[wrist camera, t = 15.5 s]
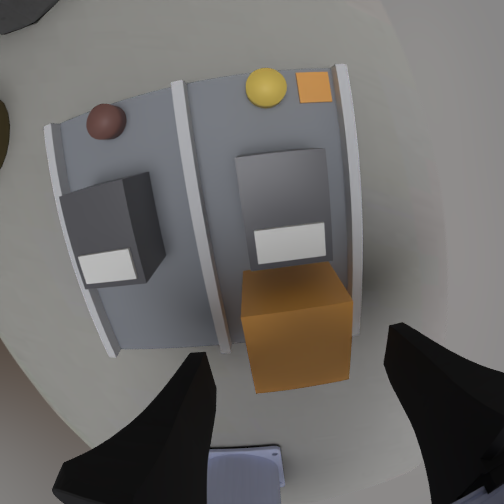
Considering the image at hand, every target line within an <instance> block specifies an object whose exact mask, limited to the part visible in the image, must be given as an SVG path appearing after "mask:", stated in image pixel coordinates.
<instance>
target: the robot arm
mask: <svg viewBox="0 0 504 504" xmlns="http://www.w3.org/2000/svg"><path fill="white" fill-rule="evenodd" d="M384 366H385V369H386V372H387V375H388V378H389V380H390V383H391V385H392V387H393V389H394V391H395V393H396V395H397V397H398V399H399V401H400V403H401V405H402V406H403V408H404V410H405V412H406V414H407V416H408V418H409V420H410V422H411V424H412V427H413V429H414V431H415V434H416V437H417V440H418V443H419V446H420V449H421V453H422V456H423V460H424V464H425V468H426V472H427V476H428V481H429V487H430V494H431V501H432V504H504V373H503V372H500V371H496V370H493V369H490V368H487V367H484V366H481V365H479V364H477V363H474V362H472V361H469V360H467V359H465V358H463V357H461V356H459V355H457V354H455V353H453V352H451V351H450V350H448V349H446V348H444V347H443V346H441V345H439V344H438V343H436V342H434V341H433V340H431V339H429V338H428V337H426V336H425V335H423V334H421V333H420V332H418V331H417V330H415V329H413V328H412V327H410V326H408V325H406V324H405V323H403V322H402V323H398V324H394V325H389V332H388V339H387V346H386V352H385V358H384ZM215 413H216V385H215V382H214V379H213V375H212V372H211V369H210V365H209V362H208V359H207V355H206V352H197V353H190V354H189V355H188V356H187V358H186V359H185V361H184V362H183V363H182V365H181V366H180V367H179V369H178V370H177V372H176V373H175V374H174V376H173V377H172V378H171V379H170V381H169V382H168V383H167V385H166V386H165V387H164V388H163V390H162V391H161V392H160V393H159V394H158V395H157V397H156V398H155V399H154V400H153V401H152V402H151V403H150V404H149V406H148V407H147V408H146V409H145V410H144V411H143V412H142V413H141V414H140V415H139V416H137V417H136V418H135V419H134V420H133V421H132V422H131V423H130V424H128V425H127V426H126V427H124V428H123V429H122V430H120V431H119V432H118V433H116V434H115V435H114V436H113V437H111V438H110V439H108V440H107V441H105V442H103V443H102V444H100V445H99V446H97V447H95V448H93V449H92V450H90V451H88V452H86V453H84V454H82V455H80V456H77V457H75V458H73V459H71V460H69V461H66V462H64V463H63V465H62V467H61V469H60V472H59V474H58V476H57V479H56V481H55V484H54V486H53V489H52V492H53V494H54V495H55V496H56V497H57V498H58V499H59V500H60V501H62V502H63V503H64V504H281V496H280V487H284V486H285V480H284V472H283V465H282V458H281V451H280V447H278V446H267V447H254V448H237V449H210V444H211V438H212V432H213V426H214V419H215Z"/></svg>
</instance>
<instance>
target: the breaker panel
mask: <svg viewBox="0 0 504 504" xmlns="http://www.w3.org/2000/svg"><path fill="white" fill-rule="evenodd" d="M44 135H45V143H46V151H47V158H48V164H49V170H50V176H51V182H52V187H53V192H54V197H55V201H56V206H57V210H58V215H59V219H60V223H61V227H62V230H63V234H64V238H65V241H66V245H67V248H68V252H69V255H70V258H71V261H72V265H73V268H74V271H75V274H76V277H77V280H78V283H79V285H80V288H81V291H82V294H83V296H84V299H85V302H86V304H87V307H88V310H89V312H90V315H91V317H92V319H93V322H94V324H95V327H96V329H97V331H98V334H99V336H100V338H101V340H102V343H103V345H104V347H105V349H106V351H107V353H108V355H109V357H117V355H118V353H119V352H120V350H121V349H154V348H178V347H196V346H210V345H219V346H220V350H221V354H225V353H231V347H232V344H234V343H244V342H246V341H245V336H244V331H243V326H242V321H241V303H242V282H243V271H246V270H251V268H250V262H249V255H248V248H247V241H246V234H245V227H244V220H243V214H242V207H241V200H240V193H239V186H238V179H237V172H236V165H235V157H237V156H238V155H246V154H253V153H261V152H270V151H279V150H289V149H299V148H325V150H326V160H327V170H328V181H329V194H330V208H331V224H332V245H333V261H329V263H330V264H331V266H332V268H333V269H334V271H335V272H336V274H337V275H338V277H339V279H340V280H341V282H342V283H343V285H344V287H345V288H346V290H347V291H348V293H349V295H350V296H351V298H352V300H353V323H352V336H356V335H359V333H360V319H361V302H362V274H363V222H362V195H361V177H360V164H359V152H358V141H357V132H356V123H355V115H354V108H353V101H352V94H351V87H350V81H349V75H348V69H347V64H335V65H334V66H333V67H331V68H324V69H293V70H278V71H276V70H274V69H270V68H261V69H258V70H256V71H254V72H253V73H248V74H240V75H233V76H226V77H219V78H213V79H208V80H202V81H197V82H192V83H187V84H186V83H185V82H184V81H183V80H179V81H175V82H171V87H169V88H165V89H161V90H157V91H153V92H150V93H146V94H142V95H139V96H135V97H132V98H129V99H125V100H122V101H119V102H116V103H113V104H110V105H109V104H100V105H97V106H96V107H94V108H93V109H92V110H91V111H90V112H87V113H85V114H82V115H80V116H77V117H75V118H72V119H70V120H67V121H65V122H63V123H60V124H55V123H51V124H48V125H46V126H44ZM144 172H149V174H150V179H151V185H152V190H153V196H154V201H155V206H156V211H157V215H158V220H159V225H160V230H161V234H162V239H163V243H164V247H165V252H166V257H165V258H164V259H163V261H162V262H161V264H160V265H159V267H158V268H157V269H156V271H155V272H154V274H153V275H152V277H151V278H150V279H149V281H148V282H147V283H145V284H136V285H126V286H116V287H106V288H96V289H86V290H85V287H84V284H83V282H82V279H81V276H80V273H79V270H78V267H77V263H76V260H75V257H74V254H73V250H72V247H71V243H70V240H69V236H68V233H67V229H66V225H65V221H64V217H63V213H62V208H61V204H60V199H59V196H62V195H65V194H68V193H71V192H74V191H77V190H80V189H83V188H86V187H89V186H92V185H95V184H99V183H103V182H107V181H111V180H115V179H119V178H123V177H127V176H131V175H135V174H140V173H144Z"/></svg>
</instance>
